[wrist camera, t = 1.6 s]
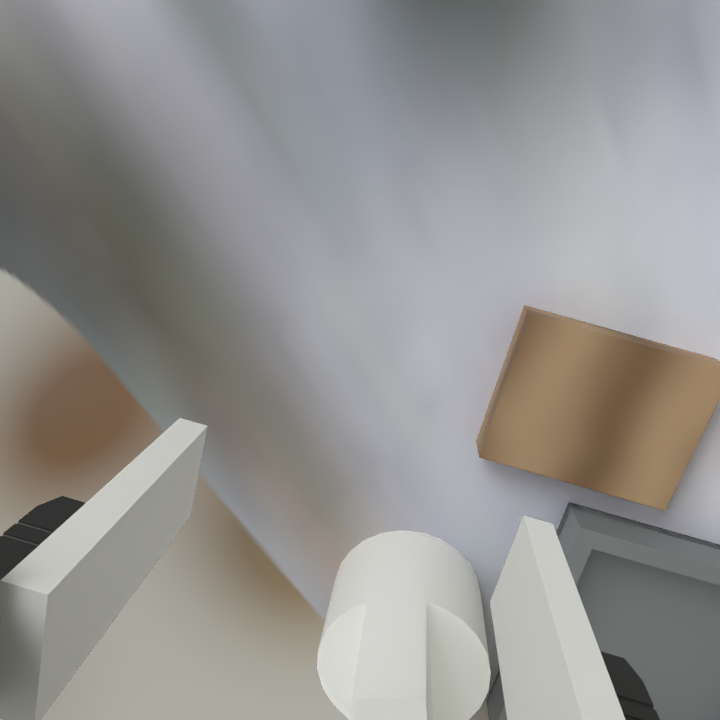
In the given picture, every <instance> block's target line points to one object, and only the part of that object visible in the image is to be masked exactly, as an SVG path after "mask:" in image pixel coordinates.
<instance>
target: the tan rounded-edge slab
mask: <svg viewBox="0 0 720 720" xmlns="http://www.w3.org/2000/svg"><path fill="white" fill-rule="evenodd" d="M719 400H720V362H719V361H718V360H716V359H714V358H711V357H708V356H704V355H701V354H697V353H693V352H690V351H686V350H683V349H679V348H676V347H672V346H668V345H665V344H661V343H658V342H654V341H650V340H647V339H643V338H640V337H636V336H632V335H629V334H625V333H622V332H618V331H615V330H611V329H607V328H604V327H600V326H597V325H593V324H589V323H586V322H582V321H579V320H575V319H571V318H568V317H564V316H561V315H557V314H554V313H550V312H546V311H543V310H539V309H536V308H532V307H528V306H525V305H524V308H523V311H522V313H521V316H520V319H519V322H518V325H517V328H516V330H515V333H514V336H513V339H512V342H511V345H510V347H509V350H508V353H507V356H506V359H505V361H504V364H503V367H502V370H501V373H500V376H499V378H498V381H497V384H496V387H495V390H494V393H493V395H492V398H491V401H490V404H489V407H488V410H487V412H486V415H485V418H484V421H483V424H482V427H481V429H480V432H479V435H478V438H477V441H476V442H477V447H478V452H479V457H481V458H484V459H487V460H491V461H494V462H498V463H501V464H505V465H508V466H512V467H515V468H519V469H522V470H526V471H529V472H533V473H536V474H540V475H543V476H546V477H550V478H553V479H557V480H560V481H564V482H567V483H571V484H574V485H578V486H581V487H585V488H588V489H592V490H595V491H598V492H602V493H605V494H609V495H612V496H616V497H619V498H623V499H626V500H630V501H633V502H637V503H640V504H644V505H647V506H651V507H654V508H657V509H661V510H664V511H666V509H667V507H668V505H669V503H670V501H671V499H672V496H673V494H674V492H675V490H676V488H677V486H678V484H679V482H680V480H681V478H682V476H683V474H684V472H685V470H686V468H687V466H688V464H689V461H690V459H691V457H692V455H693V453H694V451H695V449H696V447H697V445H698V443H699V441H700V439H701V437H702V435H703V433H704V431H705V429H706V426H707V424H708V422H709V420H710V418H711V416H712V414H713V412H714V410H715V408H716V406H717V404H718V402H719Z"/></svg>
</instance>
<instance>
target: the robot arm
mask: <svg viewBox="0 0 720 720" xmlns="http://www.w3.org/2000/svg"><path fill="white" fill-rule="evenodd" d="M207 427H208V426H206V425H203V424H199V423H196V422H192V421H189V420H185V419H182V418H179V419H178V420H177V421H176V422H175V423H174V424H172V425H171V426H170V427H169V428H168V429H167V430H166V431H165V432H164V433H163V434H161V435H160V436H159V437H158V438H157V439H156V440H155V441H154V442H153V443H152V444H151V445H149V446H148V447H147V448H146V449H145V450H144V451H143V452H142V453H141V454H139V455H138V456H137V457H136V458H135V459H134V460H133V461H132V462H131V463H129V464H128V465H127V466H126V467H125V468H124V469H123V470H122V471H121V472H120V473H118V474H117V475H116V476H115V477H114V478H113V479H112V480H111V481H110V482H108V483H107V484H106V485H105V486H104V487H103V488H102V489H101V490H100V491H99V492H98V493H96V494H95V495H94V496H93V497H92V498H91V499H90V500H89V501H87V503H84V502H81V501H77V500H74V499H70V498H67V497H64V496H61V497H59V498H56V499H54V500H51V501H49V502H46V503H44V504H41V505H39V506H37V507H35V508H34V509H33V510H32V511H30V512H29V513H28V514H27V515H25V516H24V517H23V518H22V519H20V520H19V522H18V524H15V525H13V526H12V527H10V528H9V529H8V530H7V531H5V532H4V534H3V536H2V537H1V536H0V719H3V720H41V719H42V717H43V716H44V714H45V713H46V712H47V710H48V709H49V708H50V706H51V705H52V704H53V702H54V701H55V700H56V698H57V697H58V695H59V694H60V693H61V691H62V690H63V689H64V687H65V686H66V685H67V683H68V682H69V681H70V679H71V678H72V676H73V675H74V674H75V672H76V671H77V670H78V668H79V667H80V666H81V664H82V663H83V662H84V660H85V659H86V657H87V656H88V655H89V653H90V652H91V650H92V649H93V648H94V647H95V645H96V644H97V642H98V641H99V640H100V638H101V637H102V636H103V634H104V633H105V632H106V630H107V629H108V628H109V626H110V625H111V623H112V622H113V621H114V619H115V618H116V617H117V615H118V614H119V612H120V611H121V610H122V608H123V607H124V606H125V604H126V603H127V602H128V600H129V599H130V598H131V596H132V595H133V594H134V592H135V591H136V590H137V588H138V587H139V585H140V584H141V583H142V581H143V580H144V579H145V577H146V576H147V575H148V573H149V572H150V570H151V569H152V568H153V566H154V565H155V564H156V562H157V561H158V560H159V558H160V557H161V556H162V554H163V553H164V551H165V550H166V549H167V547H168V546H169V545H170V543H171V542H172V541H173V539H174V538H175V536H176V535H177V534H178V532H179V531H180V530H181V528H182V527H183V526H184V524H185V523H186V522H187V520H188V519H189V517H190V516H191V513H192V507H193V502H194V496H195V491H196V486H197V481H198V475H199V470H200V465H201V459H202V454H203V449H204V443H205V438H206V433H207ZM490 606H491V613H492V620H493V627H494V633H495V640H496V647H497V654H498V661H499V667H500V674H501V681H502V688H503V695H504V701H505V708H506V715H507V720H660V719H659V716H658V714H657V712H656V710H654V709H653V706H654V705H653V703H652V700H651V698H650V696H649V693H648V691H647V689H646V687H645V684H644V682H643V681H642V679H641V678H640V677H639V676H638V674H637V673H636V672H635V671H634V669H633V668H632V667H631V666H630V665H629V663H628V662H627V661H626V660H625V658H622V657H619V656H615V655H612V654H608V653H605V652H602V651H600V649H599V647H598V644H597V641H596V639H595V636H594V633H593V631H592V628H591V625H590V622H589V620H588V617H587V614H586V612H585V609H584V606H583V604H582V601H581V598H580V596H579V593H578V590H577V588H576V585H575V582H574V579H573V577H572V574H571V571H570V569H569V566H568V563H567V561H566V558H565V555H564V553H563V550H562V547H561V544H560V542H559V539H558V536H557V534H556V531H555V528H554V526H553V524H552V523H548V522H545V521H541V520H538V519H534V518H531V517H527V516H524V515H523V518H522V520H521V523H520V526H519V528H518V531H517V533H516V536H515V539H514V541H513V544H512V546H511V549H510V551H509V554H508V557H507V559H506V562H505V564H504V567H503V570H502V572H501V575H500V577H499V580H498V582H497V585H496V588H495V590H494V593H493V595H492V598H491V601H490Z"/></svg>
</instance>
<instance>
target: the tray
mask: <svg viewBox="0 0 720 720" xmlns="http://www.w3.org/2000/svg"><path fill="white" fill-rule="evenodd" d="M556 534H557V536H558V539H559V542H560V544H561V547H562V550H563V553H564V555H565V558H566V561H567V563H568V566H569V569H570V571H571V574H572V577H573V579H574V582H575V585H576V588H577V590H578V593H579V596H580V598H581V601H582V604H583V606H584V609H585V612H586V614H587V617H588V620H589V622H590V625H591V628H592V631H593V633H594V636H595V639H596V641H597V644H598V647H599V649H600V651H602V652H605V653H608V654H612V655H615V656H619V657H622V658H625V660H626V661H627V662H628V663H629V665H630V666H631V667H632V668H633V669H634V671H635V672H636V673H637V674H638V676H639V677H640V678H641V679H642V681H643V682H644V684H645V687H646V689H647V691H648V693H649V696H650V698H651V700H652V703H653V705H654V706H653V709H654V710H656V712H657V714H658V716H659V719H660V720H720V545H718V544H714V543H711V542H707V541H704V540H700V539H697V538H693V537H690V536H686V535H683V534H679V533H675V532H672V531H668V530H665V529H661V528H658V527H654V526H651V525H647V524H644V523H640V522H637V521H633V520H630V519H626V518H623V517H619V516H615V515H612V514H608V513H605V512H601V511H598V510H594V509H591V508H587V507H584V506H580V505H577V504H573V503H570V502H569V504H568V506H567V508H566V511H565V513H564V516H563V518H562V520H561V523H560V525H559V528H558V530H557V533H556ZM487 707H488V716H489V720H507V715H506V708H505V701H504V695H503V688H502V681H501V674H500V671H499V673H498V676H497V678H496V680H495V683H494V685H493V688H492V690H491V692H490V695H489V697H488V700H487Z"/></svg>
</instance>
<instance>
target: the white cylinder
mask: <svg viewBox="0 0 720 720" xmlns="http://www.w3.org/2000/svg"><path fill="white" fill-rule="evenodd" d="M317 660H318V662H317V671H318V674H319V678H320V681H321V685H322V688H323V689H324V691H325V693H326V694H327V696H328V697H329V699H330V700H331V702H332V704H333V705H334V706H335V707H336V708H337V709H338V710H339V711H340V712H341V713H342V714H344V716H346V717H347V718H348V719H349V720H469V719H470V718H471V717H472V716H473V715H474V714H475V713H476V712H477V711H478V710H479V709H480V708H481V705H482V703H483V701H484V699H485V697H486V695H487V693H488V691H489V684H490V676H491V670H490V662H489V654H488V646H487V638H486V631H485V623H484V615H483V607H482V599H481V593H480V588H479V583H478V578H477V576H476V574H475V572H474V570H473V568H472V567H471V565H470V563H469V562H468V561H467V560H466V559H465V557H464V556H463V555H462V554H461V553H460V552H459V551H458V550H457V549H456V548H454V547H452V546H451V545H449V544H448V543H446V542H445V541H443V540H441V539H439V538H436V537H434V536H431V535H428V534H425V533H422V532H413V531H403V530H400V531H393V532H385V533H381V534H378V535H376V536H373V537H371V538H368V539H366V540H364V541H363V542H361V543H360V544H359V545H357V546H356V547H354V548H353V549H352V550H351V551H350V552H349V553H348V555H347V556H346V557H345V559H344V560H343V561H342V563H341V564H340V567H339V570H338V573H337V575H336V578H335V582H334V586H333V590H332V595H331V599H330V603H329V607H328V611H327V615H326V619H325V623H324V627H323V632H322V636H321V640H320V644H319V648H318V657H317Z"/></svg>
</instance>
